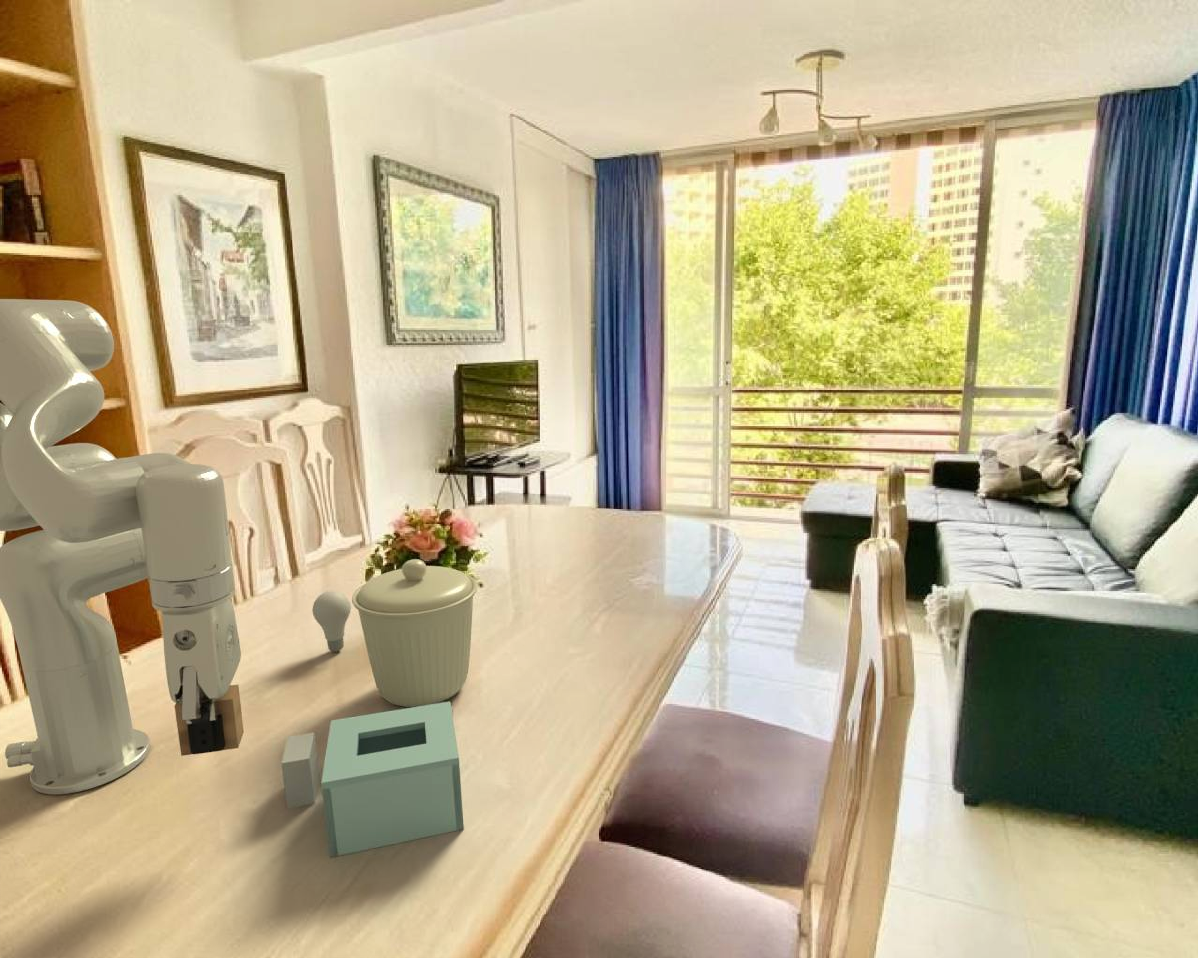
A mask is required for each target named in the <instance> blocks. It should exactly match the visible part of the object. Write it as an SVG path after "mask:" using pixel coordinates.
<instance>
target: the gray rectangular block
mask: <svg viewBox="0 0 1198 958" xmlns="http://www.w3.org/2000/svg"><path fill="white" fill-rule="evenodd" d="M316 745H317V744H316V736H315V732H309V733H303V734H297V735H291V736H287V739H286V744H285V747H284V752H283V755H282V759H281V762H280V764H281V771H282V772H281V773H282V779H283V785H284V793H285V794H284V795H285V800H286V809H293V808H296V807H301V806H307V805H311V804H312V805H313V804H315V803H316V799H317V797H316V796H317V792H318V784H319V781H320V780H319V779H320V769H319V761H318V751H317V746H316Z"/></svg>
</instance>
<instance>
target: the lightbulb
mask: <svg viewBox="0 0 1198 958" xmlns="http://www.w3.org/2000/svg"><path fill="white" fill-rule="evenodd" d="M351 610H352V605H351V601H350V600H349V597H348V596H347V595H345V593H343V592H341V591H339V590H328V591H325V592H323V593H321V594H319V595H318V596H317V598H316V599H315V600H314V602H313V605H312V615H313V617H314V619H315V620H316V622H317V624H318V625H320V627H321V629H322V630H323V633H324V637H325V640H326V642H327V647H328V650H329V651H331V652H334V653H339V652H340V650H342V649H343V648H344V647H345V646H344V640H345V639H344V637H345V628H346V623H347V621H348V619H349V616H350V614H351Z"/></svg>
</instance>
